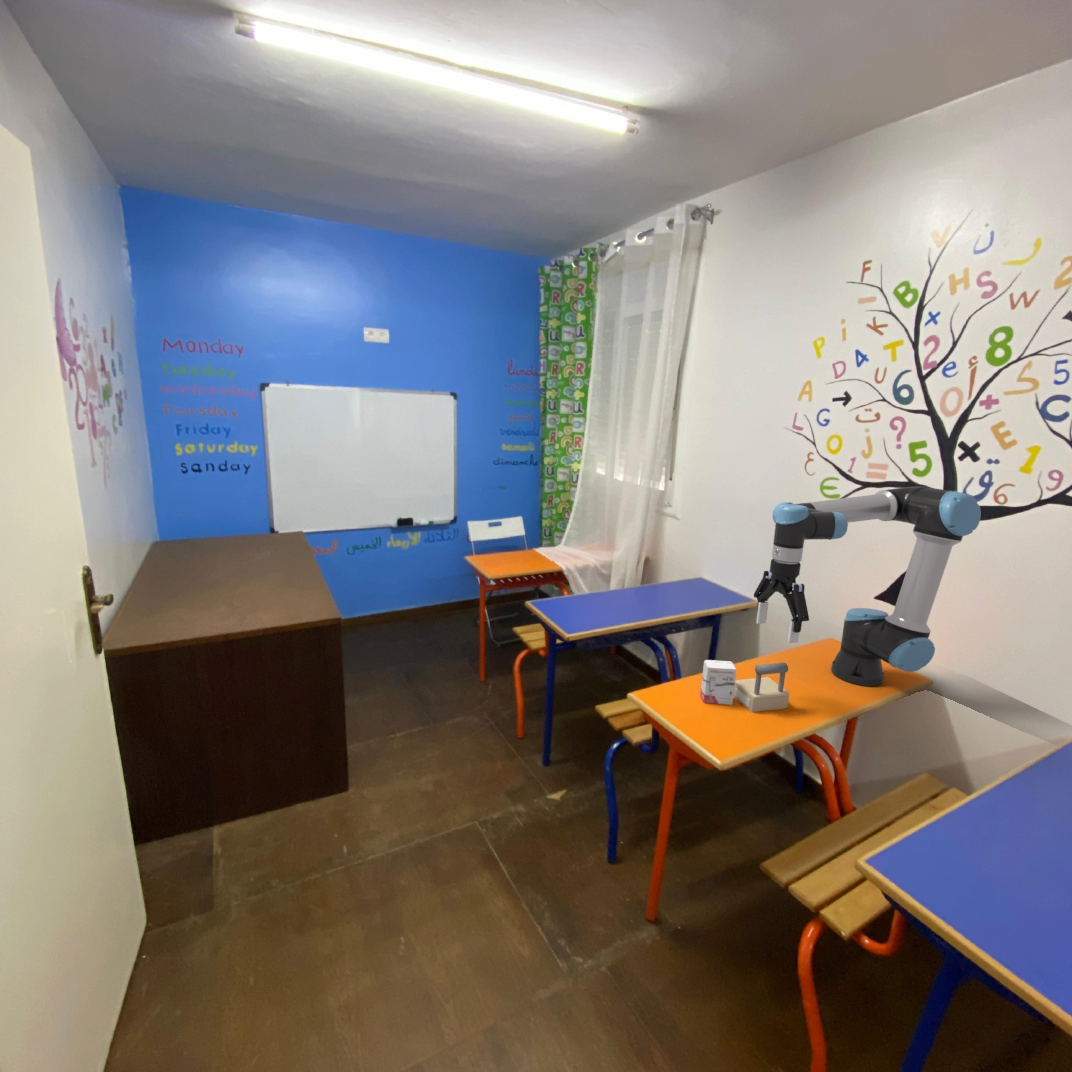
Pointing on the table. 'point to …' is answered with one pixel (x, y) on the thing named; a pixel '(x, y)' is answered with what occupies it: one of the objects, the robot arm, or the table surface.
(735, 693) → the carton
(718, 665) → the ink box
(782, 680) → the flap
